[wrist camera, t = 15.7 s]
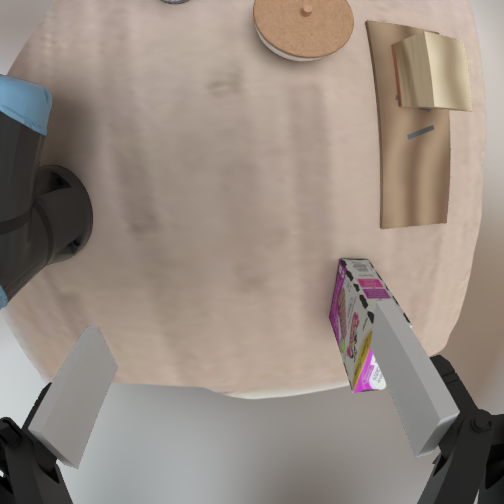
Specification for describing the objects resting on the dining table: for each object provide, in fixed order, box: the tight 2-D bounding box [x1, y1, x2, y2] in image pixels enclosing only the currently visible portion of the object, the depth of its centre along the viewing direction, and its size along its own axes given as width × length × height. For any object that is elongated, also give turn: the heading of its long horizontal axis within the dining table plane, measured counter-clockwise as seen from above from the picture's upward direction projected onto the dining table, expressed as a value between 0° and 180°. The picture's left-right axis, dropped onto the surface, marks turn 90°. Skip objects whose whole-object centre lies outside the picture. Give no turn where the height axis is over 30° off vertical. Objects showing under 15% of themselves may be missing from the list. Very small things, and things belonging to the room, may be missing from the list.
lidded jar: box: [253, 0, 354, 61], centre depth 26 cm, size 11×11×9 cm
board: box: [365, 20, 450, 229], centre depth 35 cm, size 12×30×1 cm, turn 7°
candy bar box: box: [329, 259, 412, 393], centre depth 38 cm, size 11×5×16 cm, turn 179°
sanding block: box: [391, 31, 472, 111], centre depth 27 cm, size 6×9×9 cm, turn 7°
